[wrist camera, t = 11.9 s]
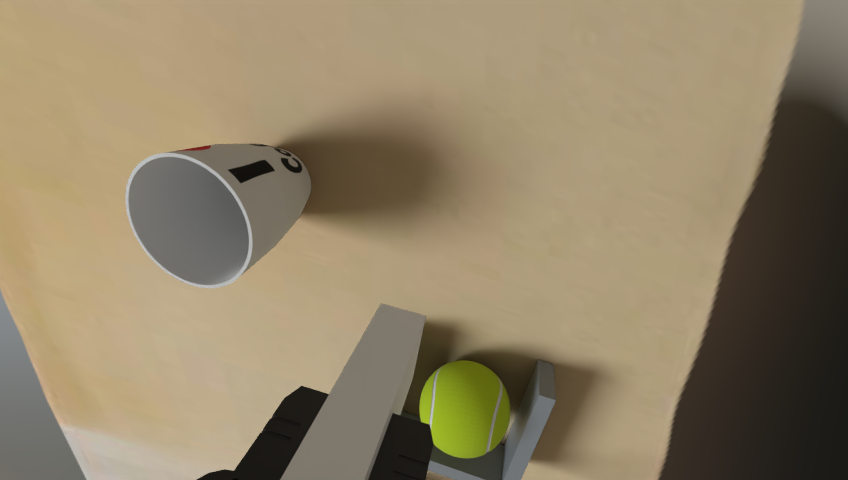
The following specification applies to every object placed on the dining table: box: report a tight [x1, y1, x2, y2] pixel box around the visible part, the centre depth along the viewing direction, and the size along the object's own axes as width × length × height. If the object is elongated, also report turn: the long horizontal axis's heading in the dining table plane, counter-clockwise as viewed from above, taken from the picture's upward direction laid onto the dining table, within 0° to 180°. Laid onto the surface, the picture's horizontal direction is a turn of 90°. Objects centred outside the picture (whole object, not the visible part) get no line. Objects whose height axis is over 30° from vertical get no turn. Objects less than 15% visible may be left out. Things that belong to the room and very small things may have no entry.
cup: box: [126, 144, 311, 288], centre depth 28 cm, size 8×8×10 cm
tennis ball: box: [419, 360, 510, 458], centre depth 33 cm, size 7×7×7 cm
